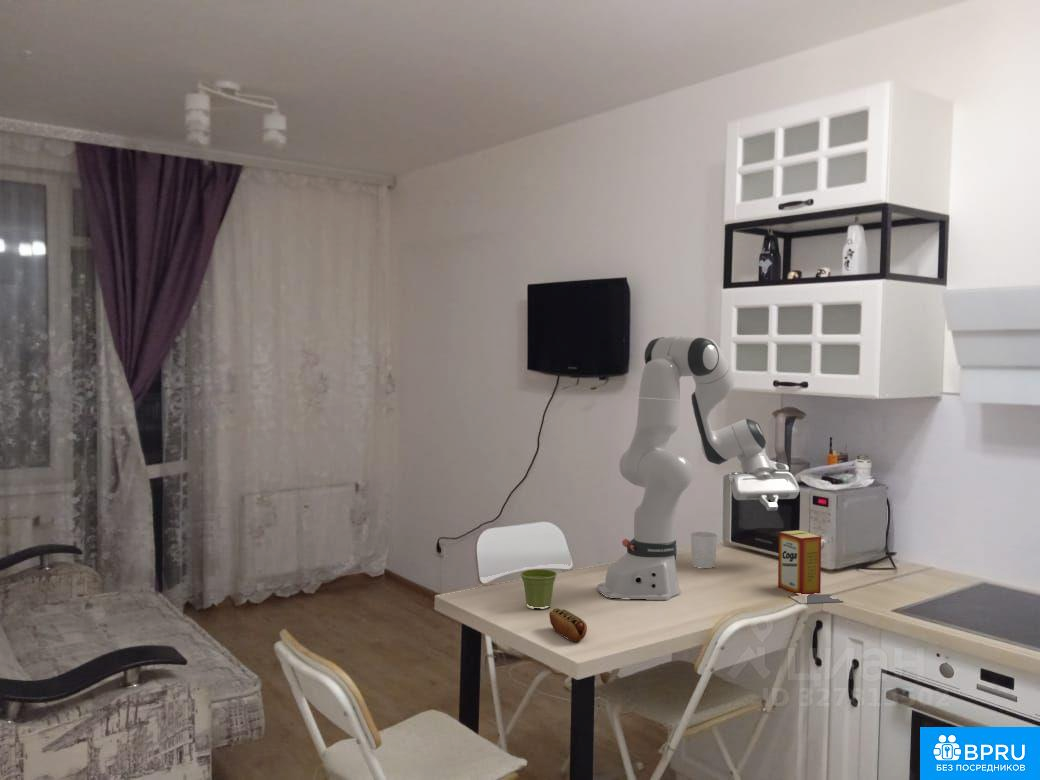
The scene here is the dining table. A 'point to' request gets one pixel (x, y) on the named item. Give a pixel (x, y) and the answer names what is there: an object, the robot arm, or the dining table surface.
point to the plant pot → (538, 586)
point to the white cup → (703, 549)
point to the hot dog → (568, 624)
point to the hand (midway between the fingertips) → (772, 509)
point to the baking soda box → (799, 562)
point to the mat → (821, 599)
